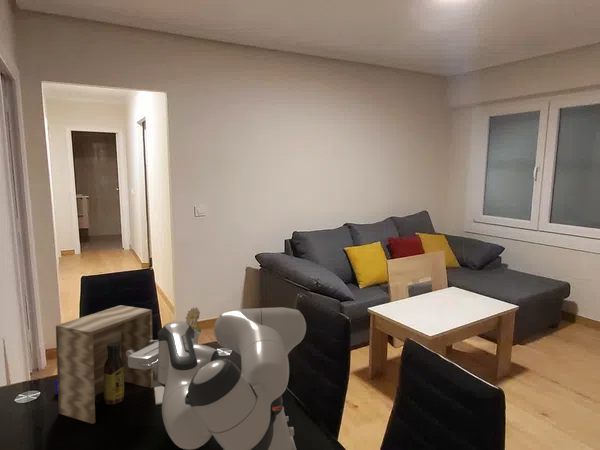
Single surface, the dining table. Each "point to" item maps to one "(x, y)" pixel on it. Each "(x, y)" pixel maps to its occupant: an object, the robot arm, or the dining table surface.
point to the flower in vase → (192, 319)
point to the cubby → (98, 356)
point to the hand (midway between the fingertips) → (138, 347)
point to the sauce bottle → (113, 375)
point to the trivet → (159, 394)
